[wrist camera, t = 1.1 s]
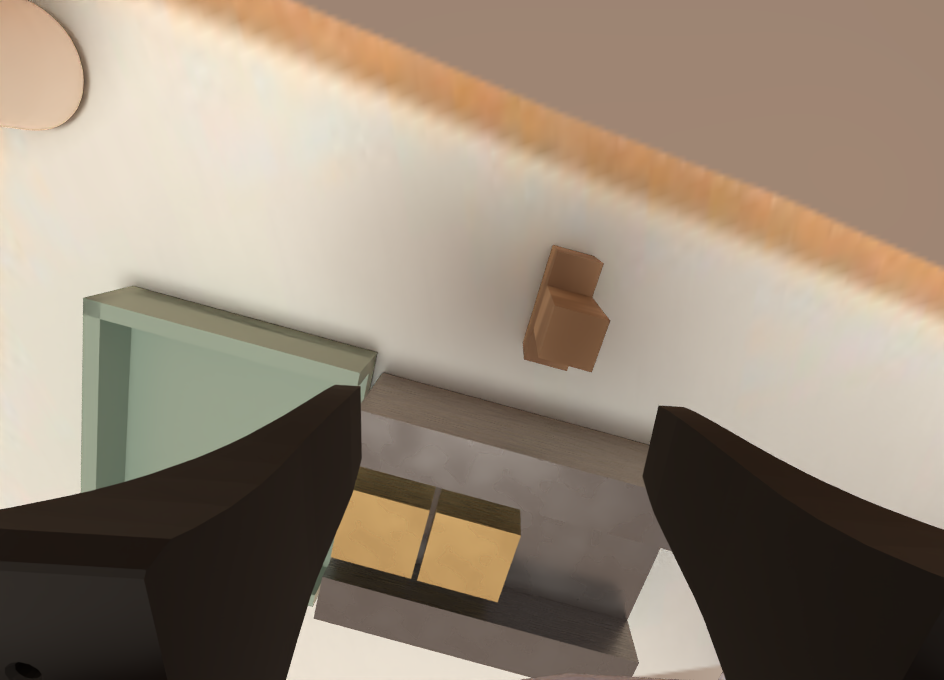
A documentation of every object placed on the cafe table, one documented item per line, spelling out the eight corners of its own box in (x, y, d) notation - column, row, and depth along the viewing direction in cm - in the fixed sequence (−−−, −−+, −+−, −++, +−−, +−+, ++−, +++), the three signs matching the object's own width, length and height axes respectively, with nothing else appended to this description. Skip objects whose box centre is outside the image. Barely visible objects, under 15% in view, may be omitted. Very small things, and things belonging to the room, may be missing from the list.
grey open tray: (680, 453, 25) (714, 506, 21) (603, 625, 29) (619, 701, 25) (382, 372, 25) (356, 409, 21) (343, 555, 29) (313, 618, 24)
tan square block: (519, 502, 25) (521, 535, 22) (498, 564, 26) (497, 602, 23) (443, 481, 25) (435, 512, 22) (425, 544, 26) (416, 580, 23)
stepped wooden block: (594, 256, 23) (624, 279, 17) (561, 353, 24) (578, 408, 18) (552, 244, 23) (568, 264, 17) (522, 343, 24) (526, 394, 18)
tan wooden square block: (437, 479, 25) (429, 510, 22) (420, 542, 26) (410, 578, 23) (361, 459, 24) (344, 487, 22) (347, 523, 26) (330, 556, 23)
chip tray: (377, 352, 25) (360, 373, 22) (332, 565, 29) (312, 606, 26) (132, 285, 25) (83, 297, 22) (122, 509, 29) (80, 543, 26)
